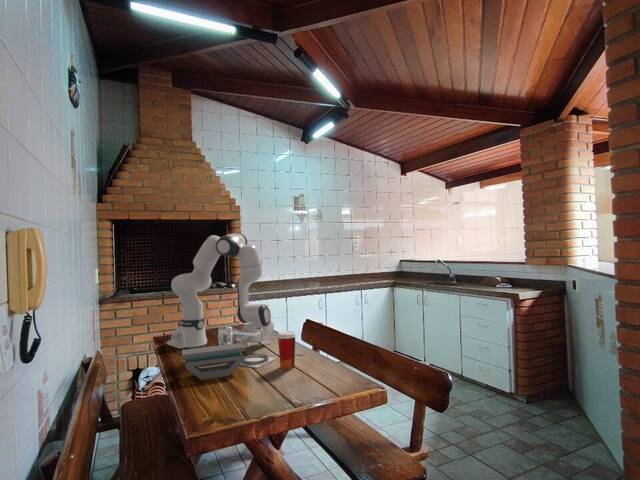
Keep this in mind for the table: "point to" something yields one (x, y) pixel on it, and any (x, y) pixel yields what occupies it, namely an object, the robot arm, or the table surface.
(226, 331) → the steel tumbler
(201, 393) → the table surface
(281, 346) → the coffee cup
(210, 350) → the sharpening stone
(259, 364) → the pale board
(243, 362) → the steel ring collar
